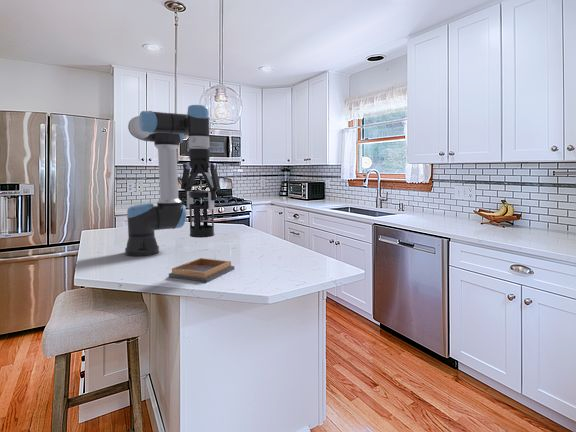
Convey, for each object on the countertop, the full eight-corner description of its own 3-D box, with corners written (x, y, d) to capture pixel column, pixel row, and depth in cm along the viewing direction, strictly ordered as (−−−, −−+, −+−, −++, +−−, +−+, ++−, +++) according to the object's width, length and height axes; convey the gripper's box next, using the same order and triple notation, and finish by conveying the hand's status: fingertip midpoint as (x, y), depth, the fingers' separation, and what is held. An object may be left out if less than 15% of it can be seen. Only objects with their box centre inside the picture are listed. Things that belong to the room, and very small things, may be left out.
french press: (195, 232, 143) (193, 175, 140) (217, 233, 142) (216, 175, 139) (184, 238, 131) (182, 175, 128) (209, 238, 131) (207, 175, 128)
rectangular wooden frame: (168, 277, 133) (168, 268, 133) (199, 264, 151) (199, 257, 150) (206, 282, 127) (206, 273, 127) (234, 269, 144) (234, 261, 144)
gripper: (169, 148, 133) (171, 208, 136) (218, 147, 125) (219, 211, 128) (182, 149, 140) (184, 206, 143) (229, 148, 132) (230, 208, 135)
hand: (200, 208), depth 136 cm, fingers closed on french press, 9 cm apart
